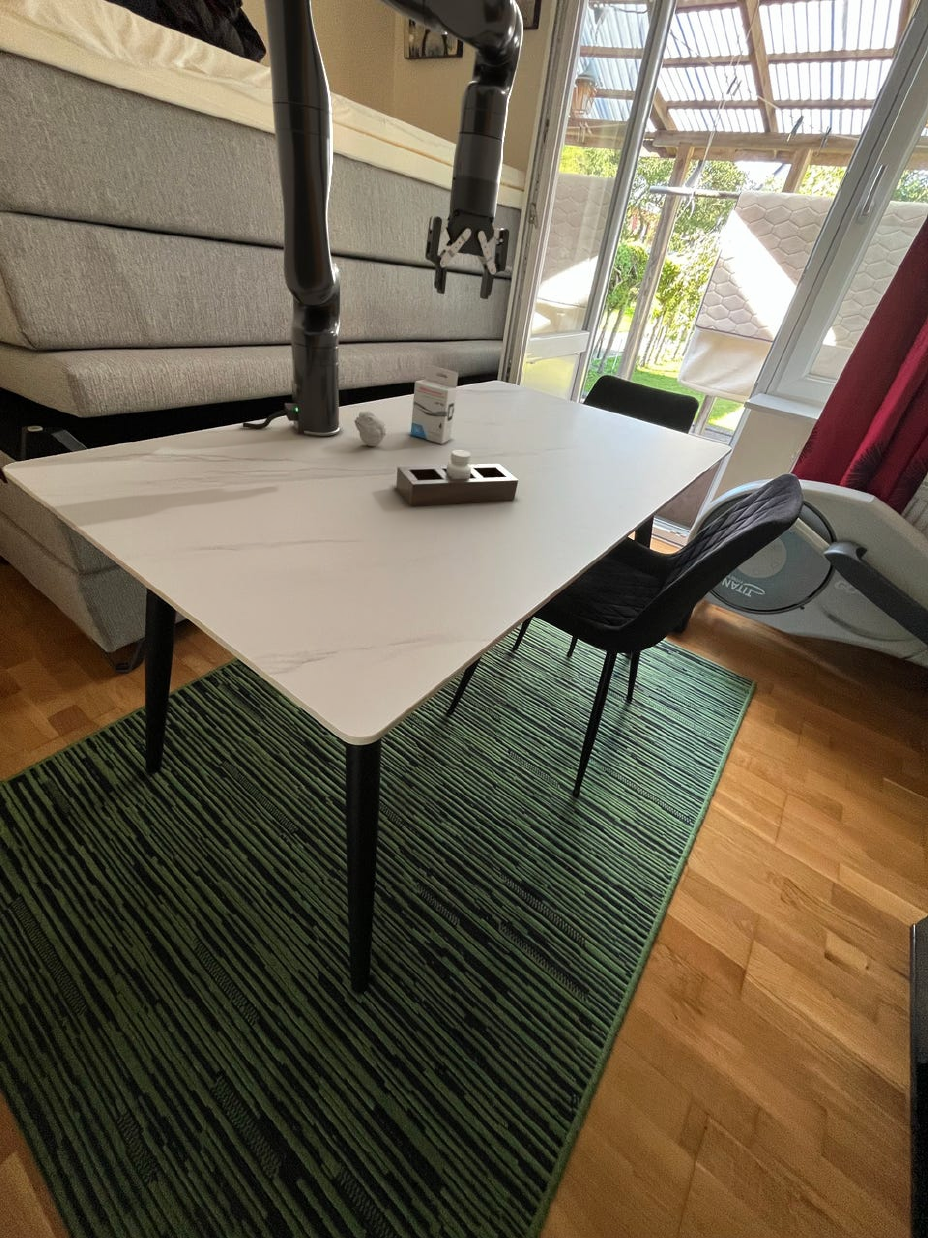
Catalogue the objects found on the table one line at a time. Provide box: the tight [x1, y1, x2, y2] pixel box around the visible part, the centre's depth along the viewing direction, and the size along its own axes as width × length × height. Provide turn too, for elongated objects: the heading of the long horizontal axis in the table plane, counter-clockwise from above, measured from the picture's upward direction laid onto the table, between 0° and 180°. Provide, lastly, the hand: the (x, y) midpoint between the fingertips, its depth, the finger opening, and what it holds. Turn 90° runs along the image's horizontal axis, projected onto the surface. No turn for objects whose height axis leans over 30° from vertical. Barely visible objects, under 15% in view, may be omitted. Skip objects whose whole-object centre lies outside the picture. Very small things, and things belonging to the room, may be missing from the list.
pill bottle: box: [446, 449, 471, 479], centre depth 94 cm, size 4×4×8 cm
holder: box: [395, 463, 519, 507], centre depth 95 cm, size 8×21×4 cm, turn 114°
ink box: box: [410, 364, 459, 445], centre depth 116 cm, size 8×5×15 cm, turn 65°
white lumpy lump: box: [353, 411, 387, 447], centre depth 109 cm, size 6×7×7 cm
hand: (462, 295), depth 91 cm, fingers open, 8 cm apart
